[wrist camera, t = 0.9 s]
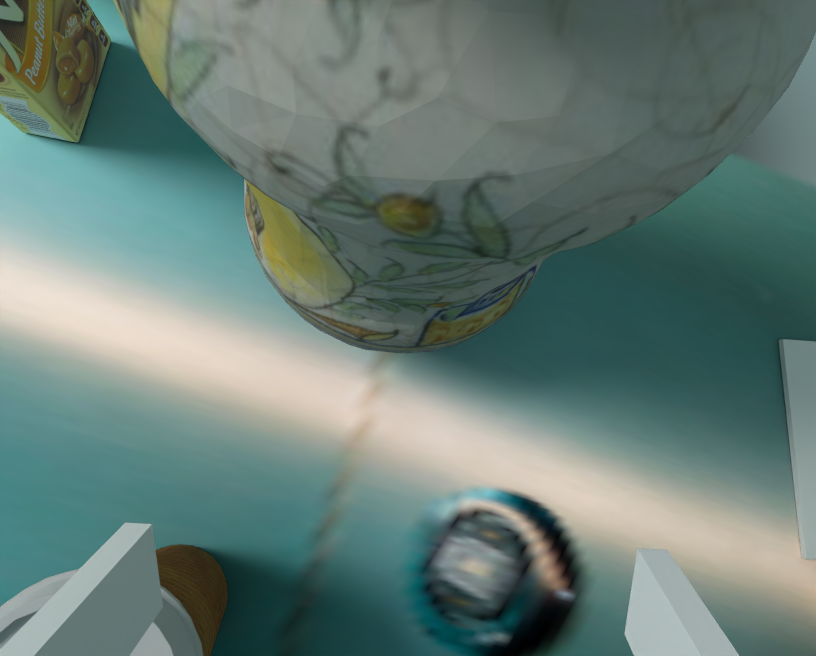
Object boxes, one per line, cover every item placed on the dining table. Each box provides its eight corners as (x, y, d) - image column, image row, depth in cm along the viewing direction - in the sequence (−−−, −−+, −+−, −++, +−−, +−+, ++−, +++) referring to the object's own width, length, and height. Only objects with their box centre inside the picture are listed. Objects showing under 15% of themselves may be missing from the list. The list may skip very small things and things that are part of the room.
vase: (242, 157, 35) (-275, -1131, 6) (470, 117, 38) (869, -873, 9) (296, 395, 32) (-165, 172, 3) (537, 333, 35) (1431, -75, 6)
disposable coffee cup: (286, 598, 30) (247, 711, 18) (159, 724, 28) (24, 941, 16) (188, 484, 31) (90, 523, 19) (56, 599, 29) (-146, 722, 17)
